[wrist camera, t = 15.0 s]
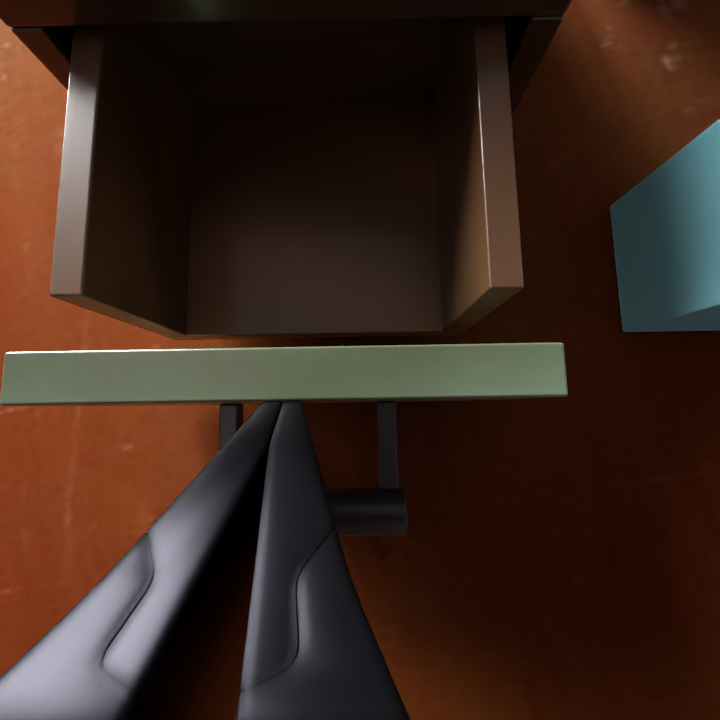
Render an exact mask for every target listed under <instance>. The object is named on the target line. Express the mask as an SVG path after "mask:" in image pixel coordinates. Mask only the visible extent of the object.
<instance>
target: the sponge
mask: <svg viewBox="0 0 720 720" xmlns="http://www.w3.org/2000/svg"><path fill="white" fill-rule="evenodd" d="M610 214H611V223H612V233H613V243H614V253H615V263H616V272H617V282H618V292H619V302H620V311H621V321H622V331H623V332H659V331H720V119H719V120H717V121H716V122H715V123H714V124H712V125H711V126H710V127H709V128H707V129H706V130H705V131H704V132H702V133H701V134H700V135H699V136H697V137H696V138H695V139H694V140H692V141H691V142H690V143H689V144H687V145H686V146H685V147H684V148H682V149H681V150H680V151H679V152H677V153H676V154H675V155H674V156H672V157H671V158H670V159H669V160H667V161H666V162H665V163H664V164H662V165H661V166H660V167H659V168H657V169H656V170H655V171H654V172H652V173H651V174H650V175H649V176H647V177H646V178H645V179H644V180H642V181H641V182H640V183H639V184H637V185H636V186H635V187H634V188H632V189H631V190H630V191H629V192H627V193H626V194H625V195H624V196H622V197H621V198H620V199H619V200H617V201H616V202H615V203H614V204H612V205H611V206H610Z"/></svg>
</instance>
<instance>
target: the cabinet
mask: <svg viewBox="0 0 720 720" xmlns="http://www.w3.org/2000/svg"><path fill="white" fill-rule="evenodd" d="M571 1H572V0H0V19H1V20H2V21H3V22H4V23H5V24H6V25H8V26H9V27H11V29H12V31H13V33H14V34H15V35H16V36H17V37H18V38H19V39H20V40H21V41H22V42H23V43H24V44H25V45H26V46H27V47H28V49H29V50H30V51H31V52H32V53H33V54H34V55H35V56H36V57H37V58H38V59H39V60H40V61H41V62H42V63H43V65H44V66H45V67H46V68H47V69H48V70H49V71H50V72H51V73H52V74H53V75H54V76H55V77H56V78H57V79H58V81H59V82H60V83H61V84H62V85H63V86H64V87H65V88H66V89H67V90H68V83H69V72H70V61H71V50H72V39H73V27H74V26H86V25H133V24H180V23H227V22H273V21H320V20H367V19H414V18H461V17H504V18H505V32H506V46H507V60H508V74H509V87H510V101H511V115H512V116H513V114H514V112H515V110H516V108H517V106H518V104H519V102H520V100H521V98H522V97H523V95H524V93H525V91H526V89H527V87H528V85H529V83H530V81H531V79H532V77H533V75H534V73H535V71H536V70H537V68H538V66H539V64H540V62H541V60H542V58H543V56H544V54H545V52H546V50H547V48H548V46H549V44H550V43H551V41H552V39H553V37H554V35H555V33H556V31H557V29H558V27H559V25H560V23H561V21H562V19H563V14H564V13H565V12H566V10H567V9H568V7H569V5H570V3H571Z"/></svg>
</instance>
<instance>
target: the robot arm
mask: <svg viewBox="0 0 720 720" xmlns="http://www.w3.org/2000/svg"><path fill="white" fill-rule="evenodd" d="M240 692H241V694H240ZM237 706H238V707H237ZM236 711H237V714H236ZM235 715H236V720H410V718H409V715H408V713H407V711H406V709H405V706H404V704H403V702H402V700H401V697H400V695H399V693H398V690H397V688H396V685H395V683H394V681H393V678H392V676H391V674H390V671H389V669H388V667H387V664H386V662H385V659H384V657H383V655H382V652H381V650H380V648H379V645H378V643H377V641H376V638H375V636H374V633H373V631H372V629H371V626H370V624H369V622H368V619H367V617H366V615H365V612H364V610H363V607H362V605H361V602H360V599H359V597H358V594H357V592H356V589H355V587H354V584H353V581H352V579H351V576H350V573H349V569H348V566H347V563H346V560H345V557H344V553H343V550H342V547H341V543H340V539H339V536H338V532H337V531H336V525H335V522H334V518H333V514H332V511H331V507H330V503H329V500H328V496H327V492H326V489H325V485H324V481H323V478H322V474H321V471H320V467H319V463H318V460H317V456H316V452H315V449H314V445H313V441H312V438H311V434H310V430H309V427H308V423H307V419H306V416H305V412H304V408H303V405H302V402H301V401H285V402H281V401H266V402H264V403H262V404H261V405H260V406H259V408H258V409H257V410H256V411H255V412H254V413H253V414H252V415H251V416H250V418H249V419H248V420H247V421H246V422H245V423H244V424H243V425H242V426H241V427H240V429H239V430H238V431H237V432H236V433H235V434H234V435H233V436H232V437H231V439H230V440H229V441H228V442H227V443H226V444H225V445H224V446H223V447H222V448H221V450H220V451H219V452H218V453H217V454H216V455H215V456H214V457H213V458H212V460H211V461H210V462H209V463H208V464H207V465H206V466H205V467H204V468H203V469H202V471H201V472H200V473H199V474H198V475H197V476H196V477H195V478H194V479H193V481H192V482H191V483H190V484H189V485H188V486H187V487H186V488H185V489H184V490H183V492H182V493H181V494H180V495H179V496H178V497H177V498H176V499H175V500H174V502H173V503H172V504H171V505H170V506H169V507H168V508H167V509H166V510H165V511H164V513H163V514H162V515H161V516H160V517H159V518H158V519H157V520H156V521H155V522H154V524H153V525H152V526H151V527H150V528H149V529H148V533H145V534H143V536H142V537H141V538H140V539H139V540H138V541H137V542H136V543H135V544H134V545H133V547H132V548H131V549H130V550H129V551H128V552H127V553H126V554H125V555H124V556H123V557H122V558H121V559H120V561H119V562H118V563H117V564H116V565H115V566H114V567H113V568H112V569H111V570H110V571H109V572H108V573H107V574H106V575H105V576H104V578H103V579H102V580H101V581H100V582H99V583H98V584H97V585H96V586H95V587H94V588H93V589H92V590H91V591H89V592H88V593H87V594H86V595H85V596H84V597H83V598H82V599H81V600H80V601H79V602H78V603H77V604H76V605H75V606H74V607H73V608H72V609H71V610H70V611H69V612H68V613H67V614H66V615H65V616H64V617H63V618H62V619H61V620H60V621H59V622H58V623H57V624H56V625H55V626H54V627H52V628H51V629H50V630H49V631H48V632H47V633H46V634H45V635H44V636H43V637H42V638H41V639H40V640H39V641H38V642H37V643H36V644H35V645H34V646H33V647H31V648H30V649H29V650H28V651H27V652H26V653H25V654H24V655H23V656H22V657H21V658H20V659H19V660H18V661H17V662H16V663H15V664H14V665H13V666H12V667H11V668H9V669H8V670H7V671H6V672H5V673H4V674H3V675H2V676H1V677H0V720H235Z"/></svg>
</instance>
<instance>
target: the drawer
mask: <svg viewBox="0 0 720 720" xmlns="http://www.w3.org/2000/svg"><path fill="white" fill-rule="evenodd" d="M523 288H524V281H523V267H522V253H521V239H520V225H519V212H518V198H517V184H516V170H515V156H514V143H513V129H512V115H511V101H510V87H509V74H508V60H507V46H506V32H505V18H504V17H461V18H414V19H367V20H320V21H273V22H227V23H180V24H133V25H86V26H74V27H73V39H72V50H71V61H70V72H69V83H68V94H67V105H66V116H65V128H64V139H63V150H62V161H61V172H60V183H59V194H58V206H57V217H56V228H55V239H54V250H53V261H52V272H51V284H50V296H52V297H54V298H57V299H60V300H63V301H66V302H69V303H72V304H74V305H77V306H80V307H83V308H86V309H89V310H92V311H95V312H97V313H100V314H103V315H106V316H109V317H112V318H115V319H117V320H120V321H123V322H126V323H129V324H132V325H135V326H138V327H140V328H143V329H146V330H149V331H152V332H155V333H158V334H161V335H163V336H166V337H169V338H172V339H175V340H202V339H261V338H320V337H379V336H439V335H459V334H461V333H462V332H463V331H465V330H466V329H468V328H469V327H470V326H472V325H473V324H475V323H476V322H477V321H479V320H480V319H481V318H483V317H484V316H486V315H487V314H488V313H490V312H491V311H492V310H494V309H495V308H497V307H498V306H499V305H501V304H502V303H503V302H505V301H506V300H508V299H509V298H510V297H512V296H513V295H514V294H516V293H517V292H519V291H520V290H521V289H523ZM567 395H568V388H567V376H566V364H565V352H564V344H563V343H560V342H556V343H496V344H436V345H377V346H317V347H257V348H198V349H138V350H78V351H19V352H7V353H5V358H4V368H3V377H2V387H1V397H0V404H1V405H3V406H122V405H215V404H221V405H220V424H219V451H220V450H221V448H222V447H223V446H224V445H225V444H226V443H227V442H228V441H229V440H230V439H231V437H232V436H233V435H234V434H235V433H236V432H237V431H238V430H239V429H240V427H241V426H242V425H243V404H262V403H264V402H266V401H281V402H285V401H301V402H302V403H341V402H377V435H378V482H379V487H365V488H325V489H326V492H327V496H328V500H329V503H330V507H331V511H332V514H333V518H334V522H335V525H336V531H337V532H338V536H403V535H406V533H407V526H408V517H407V502H406V494H405V490H404V488H403V487H399V482H398V446H397V410H396V402H403V401H466V400H498V399H523V398H548V397H565V396H567Z"/></svg>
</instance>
